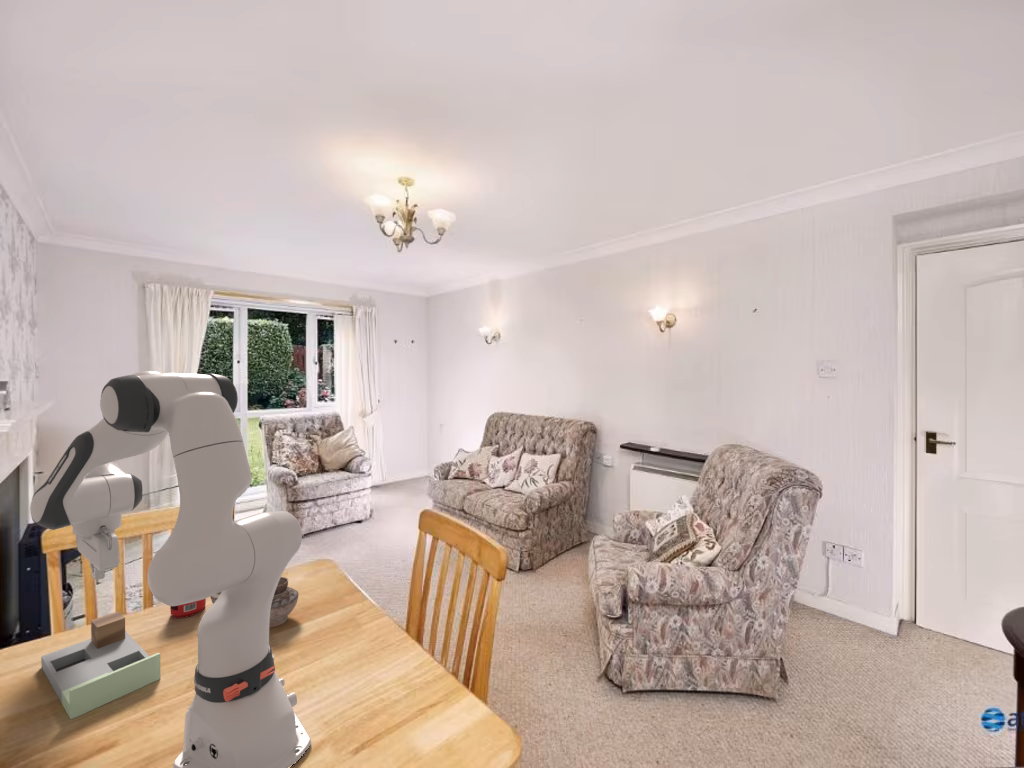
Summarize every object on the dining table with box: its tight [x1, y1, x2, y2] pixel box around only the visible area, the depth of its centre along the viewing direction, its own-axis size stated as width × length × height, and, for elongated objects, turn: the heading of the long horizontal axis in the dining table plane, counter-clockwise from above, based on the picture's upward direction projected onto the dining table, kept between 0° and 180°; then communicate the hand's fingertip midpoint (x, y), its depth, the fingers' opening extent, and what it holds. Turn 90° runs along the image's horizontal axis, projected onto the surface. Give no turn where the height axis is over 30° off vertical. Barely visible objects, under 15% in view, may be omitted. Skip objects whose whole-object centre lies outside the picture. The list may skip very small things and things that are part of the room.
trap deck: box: [40, 630, 161, 720], centre depth 98 cm, size 26×14×6 cm, turn 55°
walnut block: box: [90, 610, 126, 649], centre depth 106 cm, size 5×5×5 cm
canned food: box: [170, 598, 207, 619], centre depth 124 cm, size 8×8×11 cm
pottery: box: [209, 576, 299, 628], centre depth 121 cm, size 11×25×12 cm, turn 75°
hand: (98, 577), depth 110 cm, fingers closed
